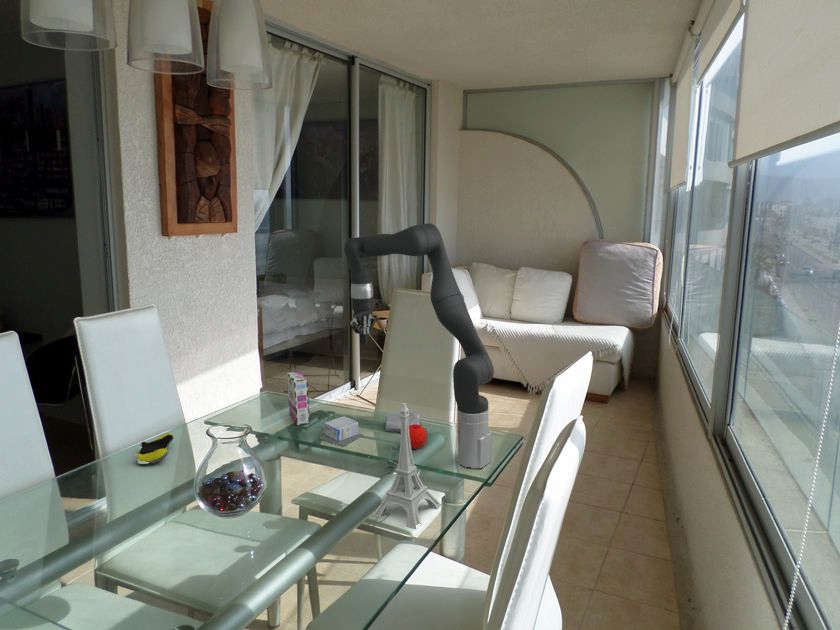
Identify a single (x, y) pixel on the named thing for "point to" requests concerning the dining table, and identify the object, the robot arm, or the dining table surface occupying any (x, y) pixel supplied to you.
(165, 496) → the dining table surface
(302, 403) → the candy bar box
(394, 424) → the stone block
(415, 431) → the apple
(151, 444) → the yellow black curved piece
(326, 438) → the mat
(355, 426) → the medicine box
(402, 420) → the eiffel tower
